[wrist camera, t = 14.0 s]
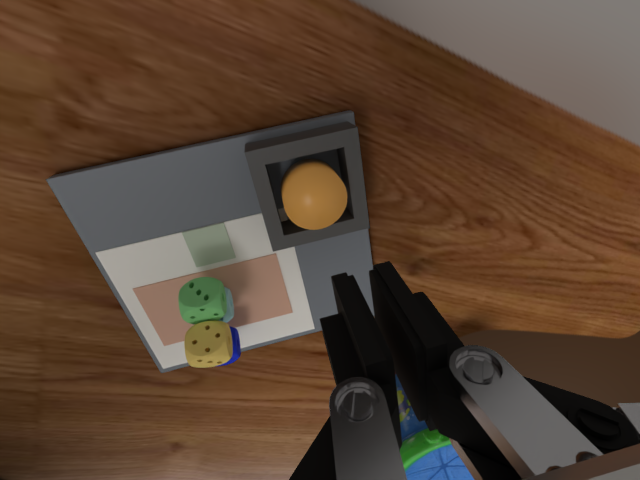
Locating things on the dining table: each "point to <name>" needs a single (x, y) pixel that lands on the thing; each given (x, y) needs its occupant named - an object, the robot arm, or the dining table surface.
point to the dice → (208, 323)
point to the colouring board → (223, 232)
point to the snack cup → (426, 448)
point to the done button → (313, 194)
